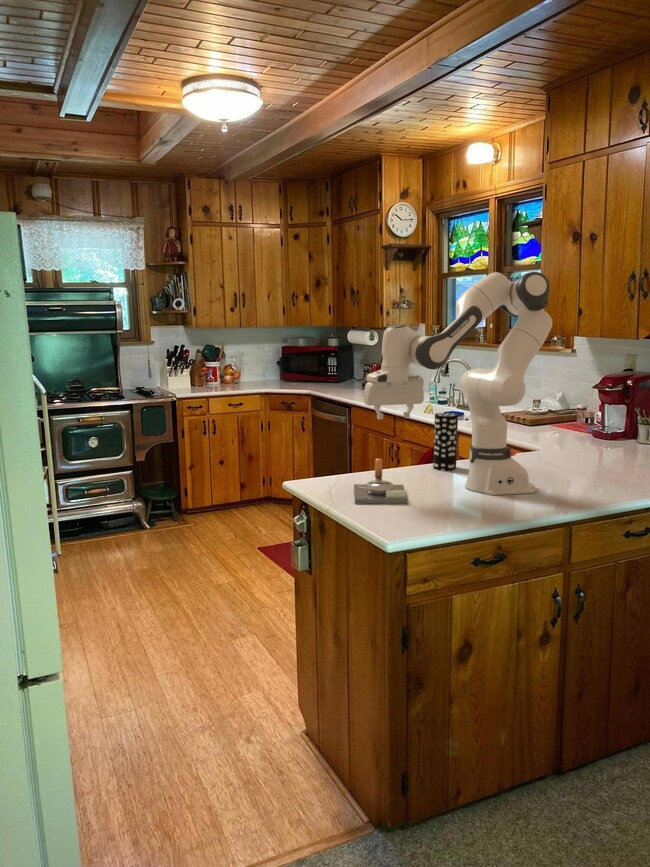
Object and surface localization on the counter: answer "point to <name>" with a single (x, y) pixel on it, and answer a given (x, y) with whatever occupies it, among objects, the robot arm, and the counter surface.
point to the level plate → (389, 498)
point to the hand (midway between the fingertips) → (393, 418)
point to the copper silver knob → (379, 481)
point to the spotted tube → (445, 441)
